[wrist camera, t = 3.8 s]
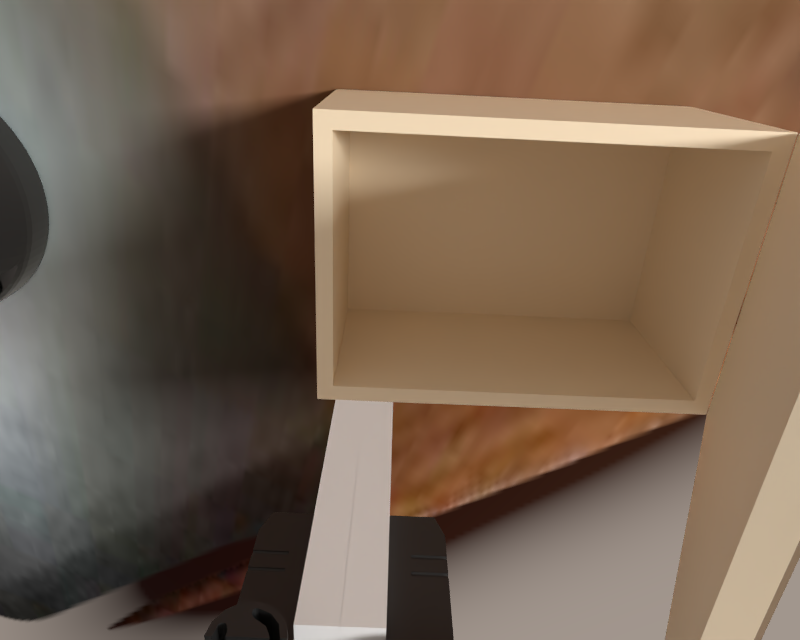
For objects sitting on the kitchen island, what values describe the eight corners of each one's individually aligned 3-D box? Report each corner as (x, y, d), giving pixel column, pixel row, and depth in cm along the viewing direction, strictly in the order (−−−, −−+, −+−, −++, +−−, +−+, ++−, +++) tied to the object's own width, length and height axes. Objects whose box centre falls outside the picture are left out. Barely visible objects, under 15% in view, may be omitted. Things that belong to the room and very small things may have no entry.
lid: (633, 806, 15) (672, 829, 14) (846, 276, 8) (924, 291, 8) (706, 415, 30) (726, 421, 30) (799, 133, 24) (825, 135, 24)
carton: (336, 315, 39) (317, 398, 30) (336, 88, 33) (312, 108, 24) (636, 328, 39) (705, 414, 30) (690, 106, 33) (797, 132, 24)
